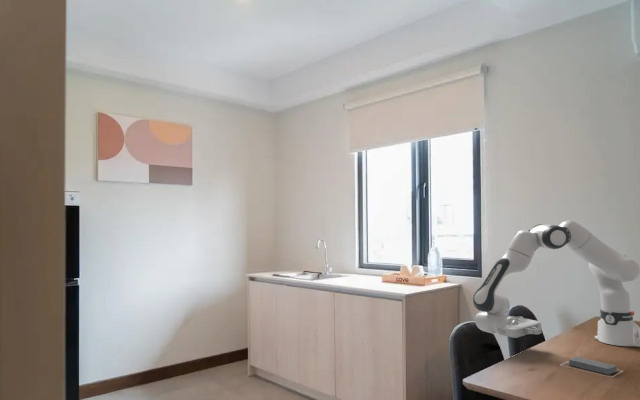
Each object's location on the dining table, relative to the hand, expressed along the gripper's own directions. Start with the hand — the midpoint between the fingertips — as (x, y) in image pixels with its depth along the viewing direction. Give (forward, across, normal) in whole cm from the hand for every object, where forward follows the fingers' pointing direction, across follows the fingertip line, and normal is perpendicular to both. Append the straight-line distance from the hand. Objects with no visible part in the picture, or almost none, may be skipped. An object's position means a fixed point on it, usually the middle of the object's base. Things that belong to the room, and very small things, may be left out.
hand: (539, 331), depth 182 cm
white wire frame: (+20, -1, +11) cm, 22 cm away
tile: (+13, -1, +9) cm, 16 cm away
